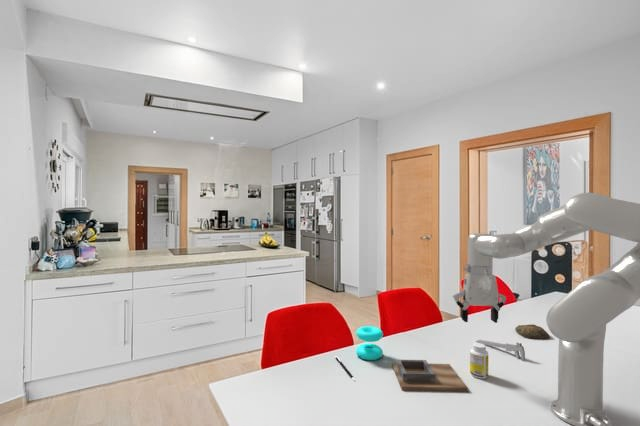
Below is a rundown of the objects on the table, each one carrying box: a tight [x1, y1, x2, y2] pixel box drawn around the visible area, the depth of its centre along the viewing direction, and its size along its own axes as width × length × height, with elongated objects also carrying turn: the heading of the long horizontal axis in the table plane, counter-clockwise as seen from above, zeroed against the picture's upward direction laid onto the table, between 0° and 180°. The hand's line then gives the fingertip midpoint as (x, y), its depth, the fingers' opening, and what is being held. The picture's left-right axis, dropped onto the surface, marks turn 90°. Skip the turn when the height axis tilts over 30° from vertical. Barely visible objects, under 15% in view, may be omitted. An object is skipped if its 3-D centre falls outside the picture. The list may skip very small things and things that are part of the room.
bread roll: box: [515, 324, 551, 341], centre depth 151 cm, size 13×12×5 cm
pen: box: [334, 355, 356, 382], centre depth 117 cm, size 1×19×1 cm, turn 17°
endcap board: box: [391, 359, 469, 393], centre depth 111 cm, size 16×20×4 cm
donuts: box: [355, 325, 384, 361], centre depth 128 cm, size 10×10×10 cm
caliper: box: [475, 339, 526, 361], centre depth 133 cm, size 20×1×6 cm, turn 26°
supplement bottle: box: [469, 342, 489, 380], centre depth 113 cm, size 6×6×10 cm
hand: (479, 321), depth 113 cm, fingers open, 9 cm apart
